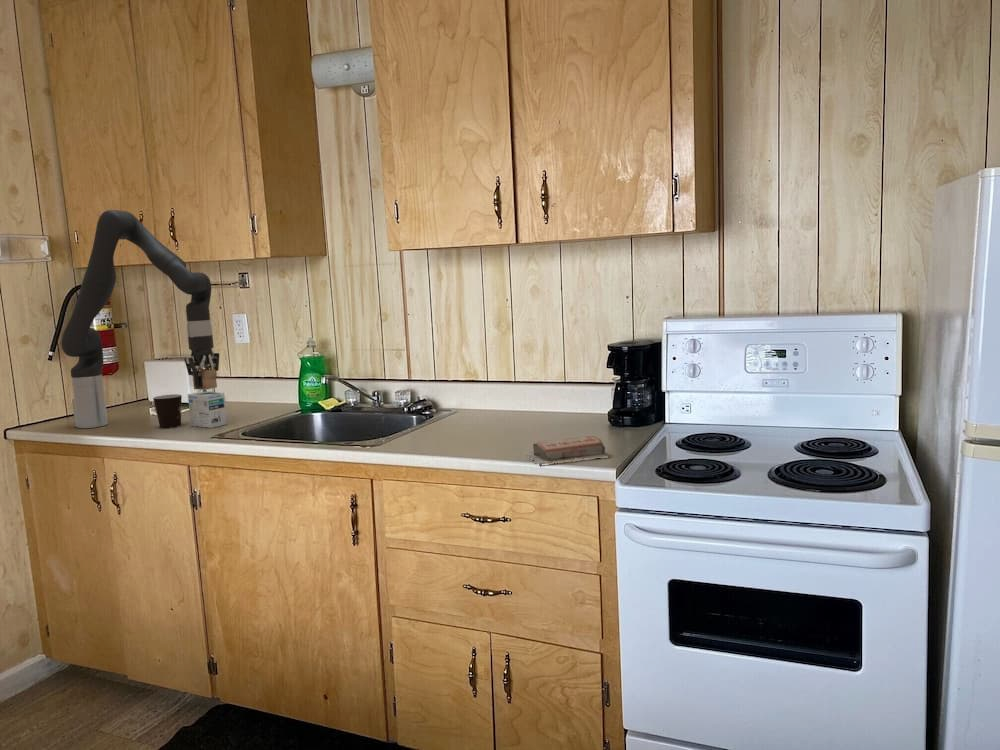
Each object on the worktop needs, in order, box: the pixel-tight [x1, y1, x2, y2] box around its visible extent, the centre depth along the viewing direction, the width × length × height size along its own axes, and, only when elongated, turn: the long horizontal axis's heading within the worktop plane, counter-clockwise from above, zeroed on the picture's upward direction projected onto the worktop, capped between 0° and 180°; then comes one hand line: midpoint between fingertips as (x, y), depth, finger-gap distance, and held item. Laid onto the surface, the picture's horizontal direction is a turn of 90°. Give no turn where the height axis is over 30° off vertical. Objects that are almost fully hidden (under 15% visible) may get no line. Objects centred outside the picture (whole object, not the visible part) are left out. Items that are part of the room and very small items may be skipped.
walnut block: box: [192, 368, 218, 391], centre depth 249 cm, size 5×5×6 cm
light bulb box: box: [187, 391, 228, 429], centre depth 251 cm, size 11×7×11 cm, turn 58°
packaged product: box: [525, 435, 610, 467], centre depth 187 cm, size 18×5×10 cm
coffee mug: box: [152, 393, 183, 429], centre depth 253 cm, size 12×9×10 cm
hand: (205, 386), depth 250 cm, fingers closed on walnut block, 5 cm apart
